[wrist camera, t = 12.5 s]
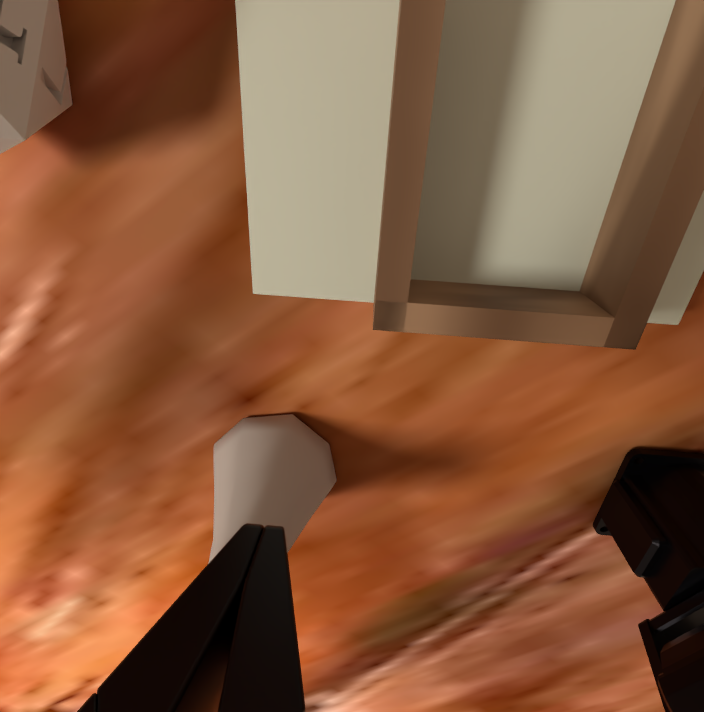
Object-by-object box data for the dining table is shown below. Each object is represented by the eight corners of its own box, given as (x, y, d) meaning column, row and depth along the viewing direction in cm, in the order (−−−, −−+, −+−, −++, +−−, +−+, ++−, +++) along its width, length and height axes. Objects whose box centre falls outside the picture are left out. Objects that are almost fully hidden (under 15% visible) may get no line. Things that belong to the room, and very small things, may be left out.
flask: (194, 435, 24) (89, 603, 15) (299, 393, 22) (247, 556, 14) (259, 514, 27) (201, 694, 18) (356, 483, 25) (344, 665, 17)
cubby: (714, 0, 13) (800, -36, 10) (598, 319, 18) (635, 349, 16) (401, -17, 13) (406, -56, 11) (373, 302, 18) (372, 329, 16)
